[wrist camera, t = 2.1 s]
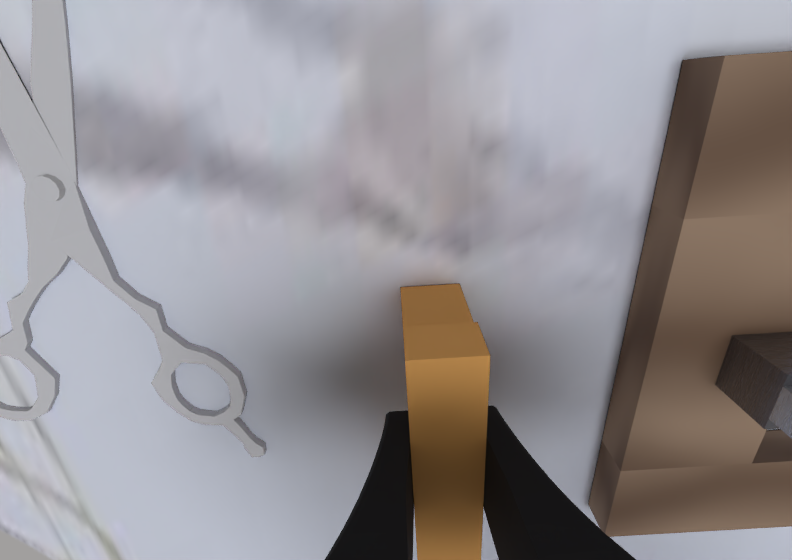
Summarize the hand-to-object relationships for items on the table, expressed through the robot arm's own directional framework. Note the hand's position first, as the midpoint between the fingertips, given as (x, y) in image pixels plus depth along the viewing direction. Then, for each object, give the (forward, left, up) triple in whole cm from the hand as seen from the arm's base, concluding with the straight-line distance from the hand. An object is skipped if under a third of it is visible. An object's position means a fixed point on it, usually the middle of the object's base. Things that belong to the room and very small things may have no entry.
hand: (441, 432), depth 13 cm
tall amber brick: (0, 0, -3) cm, 3 cm away
